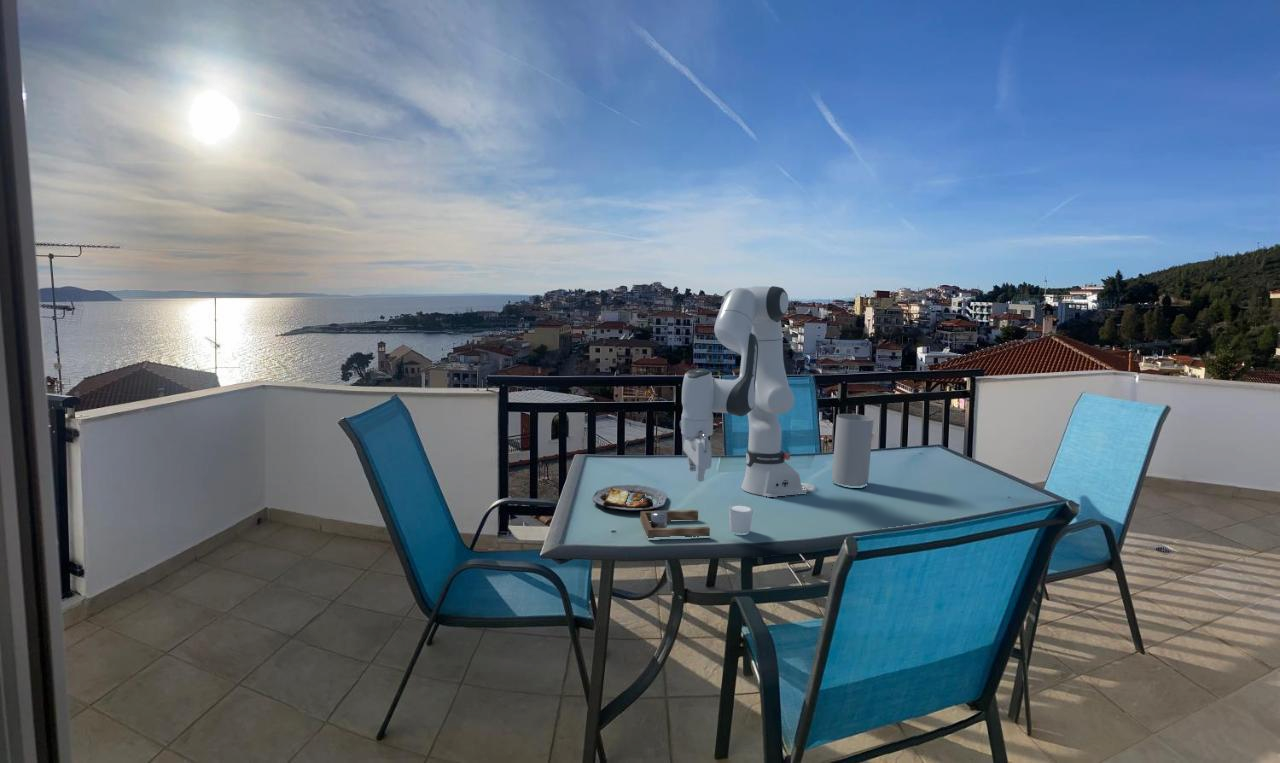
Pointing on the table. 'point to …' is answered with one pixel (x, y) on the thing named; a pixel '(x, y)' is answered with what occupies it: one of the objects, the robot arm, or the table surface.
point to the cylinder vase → (852, 449)
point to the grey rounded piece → (658, 519)
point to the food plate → (619, 495)
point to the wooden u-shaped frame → (668, 532)
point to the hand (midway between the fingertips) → (696, 475)
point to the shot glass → (740, 518)
